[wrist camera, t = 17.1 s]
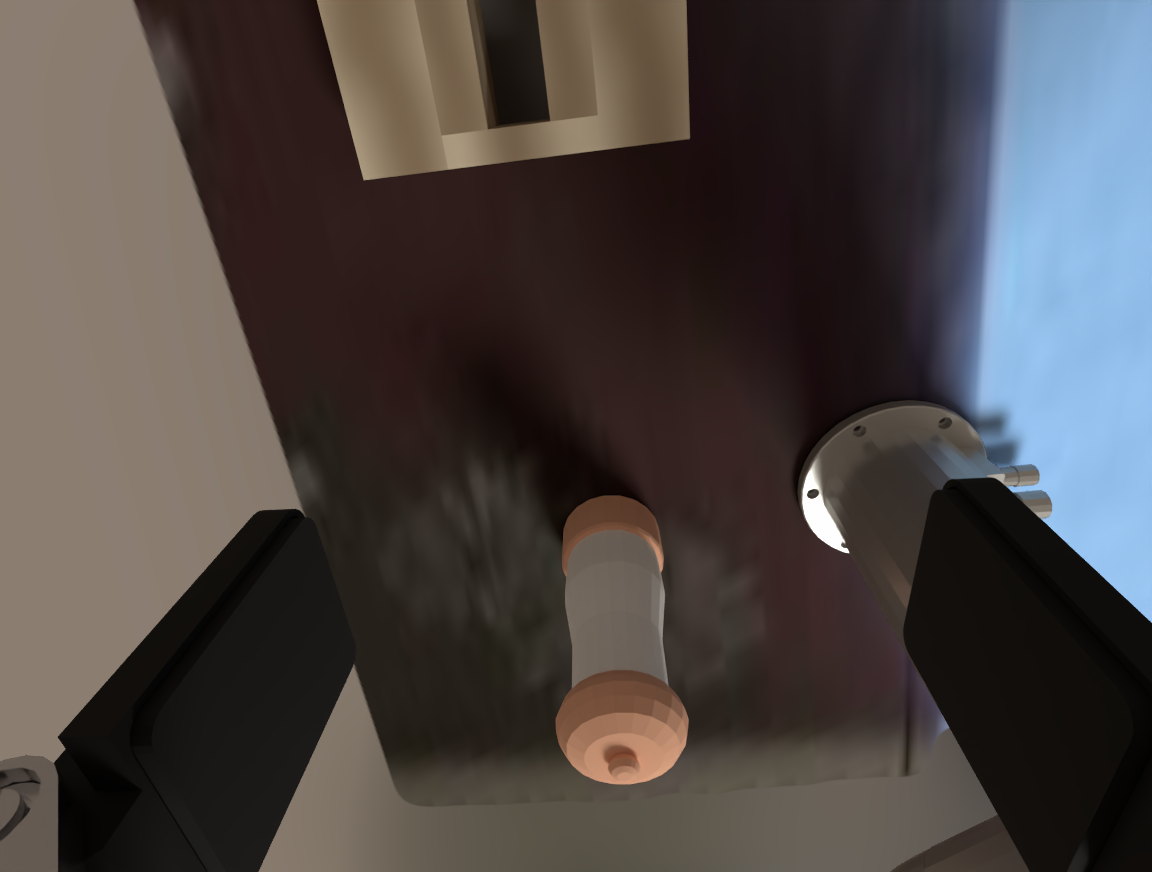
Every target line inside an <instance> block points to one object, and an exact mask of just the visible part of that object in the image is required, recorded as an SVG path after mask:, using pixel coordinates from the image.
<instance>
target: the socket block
mask: <svg viewBox="0 0 1152 872" xmlns="http://www.w3.org/2000/svg"><path fill="white" fill-rule="evenodd" d="M317 3H318V7H319V11H320V15H321V19H322V22H323V26H324V30H325V34H326V38H327V41H328V45H329V49H330V53H331V57H332V61H333V64H334V68H335V72H336V76H337V80H338V83H339V87H340V91H341V95H342V99H343V102H344V106H345V110H346V114H347V118H348V122H349V125H350V129H351V133H352V137H353V141H354V144H355V148H356V152H357V156H358V160H359V163H360V167H361V171H362V175H363V179H364V180H369V179H377V178H385V177H393V176H401V175H409V174H417V173H424V172H432V171H440V170H448V169H456V168H464V167H472V166H480V165H488V164H495V163H503V162H511V161H519V160H527V159H535V158H543V157H551V156H558V155H566V154H574V153H582V152H590V151H598V150H606V149H614V148H622V147H629V146H637V145H645V144H653V143H661V142H669V141H677V140H685V139H690V123H689V84H688V45H687V6H686V0H317Z"/></svg>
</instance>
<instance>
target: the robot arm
mask: <svg viewBox="0 0 1152 872" xmlns="http://www.w3.org/2000/svg"><path fill="white" fill-rule="evenodd" d="M1039 476H1040V475H1039V471H1038V469H1037V468H1036V466H1034V465H1032V464H1029V465H1018V466H1011V467H1006V468H999V467H998V466H997V465H994V464H992V463H991V462H990V461H989V460H988V459H987V455H986V450H985V446H984V444H983V442H982V440H981V438H980V436H979V434H978V433H977V432H976V430H975V429H974V428H973V427H972V426H971V425H970V424H969V423H968V422H967V421H966V420H965V419H963V418H962V417H961V416H960V415H958V414H957V413H956V412H954V411H952V410H950V409H948V408H946V407H944V406H942V405H938V404H934V403H930V402H927V401H914V400H904V401H894V402H888V403H884V404H880V405H876V406H872V407H869V408H867V409H865V410H862V411H860V412H858V413H855V414H853V415H852V416H850V417H848V418H847V419H845V420H843V421H842V422H840V423H839V424H837V425H836V426H835V427H834V428H832V429H831V430H830V431H829V432H828V433H826V434H825V435H824V436H823V437H822V438H821V440H820V441H819V442H818V443H817V444H816V445H815V447H814V448H813V449H812V451H811V452H810V454H809V456H808V457H807V459H806V461H805V462H804V465H803V468H802V471H801V473H800V476H799V482H798V490H797V493H798V501H799V506H800V509H801V512H802V514H803V517H804V519H805V520H806V522H807V524H808V526H809V527H810V529H811V530H812V531H813V532H814V534H815V535H816V536H817V537H818V538H819V539H820V540H822V541H823V542H825V543H826V544H827V545H829V546H830V547H833V548H835V549H837V550H839V551H842V552H845V553H850V555H851V557H852V559H853V560H854V562H855V564H856V566H857V567H858V569H859V571H860V573H861V574H862V576H863V578H864V580H865V581H866V583H867V585H868V587H869V588H870V590H871V592H872V594H873V595H874V597H875V599H876V601H877V602H878V604H879V606H880V608H881V609H882V611H883V613H884V615H885V616H886V618H887V620H888V622H889V623H890V625H891V627H892V629H893V630H894V632H895V634H896V636H897V637H898V639H899V641H900V643H901V644H902V646H903V648H904V650H905V651H906V653H907V655H908V657H909V658H910V660H911V662H912V664H913V665H914V667H915V669H916V671H917V672H918V674H919V676H920V678H921V679H922V681H923V683H924V684H925V686H926V688H927V689H928V691H929V693H930V695H931V696H932V698H933V700H934V702H935V703H936V705H937V706H938V708H939V709H940V711H941V713H942V715H943V717H944V718H945V720H946V722H947V724H948V726H949V727H950V729H951V731H952V733H953V735H954V736H955V738H956V740H957V742H958V744H959V745H960V747H961V749H962V751H963V753H964V754H965V756H966V758H967V760H968V762H969V763H970V765H971V767H972V769H973V771H974V772H975V774H976V776H977V778H978V780H979V781H980V783H981V785H982V787H983V788H984V790H985V792H986V794H987V796H988V798H989V799H990V801H991V803H992V805H993V807H994V808H995V810H996V812H997V814H998V815H997V816H994V817H993V818H990V819H988V820H986V821H984V822H982V823H980V824H978V825H976V826H974V827H972V828H970V829H968V830H966V831H964V832H962V833H959V834H957V835H955V836H953V837H951V838H949V839H947V840H945V841H943V842H941V843H939V844H937V845H935V846H933V847H931V848H930V849H928V850H926V851H924V852H922V853H920V854H918V855H916V856H914V857H912V858H910V859H909V860H907V861H905V862H904V863H902V864H900V865H899V866H897V867H896V868H895V869H893V870H892V871H891V872H1152V623H1151V622H1150V621H1149V620H1148V619H1147V618H1146V617H1145V616H1144V615H1143V614H1142V613H1141V612H1139V611H1138V610H1137V609H1136V608H1135V607H1134V606H1133V605H1132V604H1131V603H1130V602H1129V601H1128V600H1127V599H1126V598H1125V597H1123V596H1122V595H1121V594H1120V593H1119V592H1118V591H1117V590H1116V589H1115V588H1114V587H1113V586H1112V585H1111V584H1110V583H1109V582H1107V581H1106V580H1105V579H1104V578H1103V577H1102V576H1101V575H1100V574H1099V573H1098V572H1097V571H1096V570H1095V569H1094V568H1093V567H1091V566H1090V565H1089V564H1088V563H1087V562H1086V561H1085V560H1084V559H1083V558H1082V557H1081V556H1080V555H1079V554H1078V553H1077V552H1075V551H1074V550H1073V549H1072V548H1071V547H1070V546H1069V545H1068V544H1067V543H1066V542H1065V541H1064V540H1063V539H1062V538H1061V537H1059V536H1058V535H1057V534H1056V533H1055V532H1054V531H1053V530H1052V529H1051V528H1050V527H1049V526H1048V525H1047V524H1046V523H1045V522H1043V521H1042V520H1041V519H1046V518H1048V517H1049V516H1050V515H1051V512H1052V503H1051V500H1050V497H1049V496H1048V495H1047V493H1046V492H1044V491H1042V490H1037V491H1026V492H1014V493H1013V492H1011V491H1010V490H1009V489H1008V488H1007V487H1006V486H1014V487H1017V486H1029V485H1036V484H1037V483H1038V482H1039ZM355 654H356V647H355V641H354V638H353V635H352V632H351V629H350V626H349V623H348V620H347V617H346V614H345V611H344V608H343V605H342V602H341V599H340V596H339V593H338V590H337V587H336V584H335V581H334V578H333V575H332V572H331V569H330V566H329V563H328V560H327V558H326V555H325V552H324V549H323V546H322V543H321V540H320V537H319V534H318V531H317V528H316V525H315V523H314V521H313V520H312V519H311V518H305V517H304V515H303V513H302V512H301V511H300V510H297V509H285V510H263V511H259V512H257V513H256V514H254V515H253V516H252V518H250V520H249V521H248V522H247V523H246V524H245V525H244V527H243V528H242V529H241V530H240V531H239V532H238V533H237V534H236V536H235V537H234V538H233V539H232V540H231V541H230V542H229V543H228V545H227V546H226V547H225V548H224V549H223V550H222V551H221V552H220V554H219V555H218V556H217V557H216V558H215V559H214V560H213V562H212V563H211V564H210V565H209V566H208V567H207V569H206V570H205V571H204V572H203V573H202V574H201V575H200V576H199V577H198V579H197V580H196V581H195V582H194V583H193V584H192V585H191V587H190V588H189V589H188V590H187V591H186V592H185V593H184V594H183V596H182V597H181V598H180V599H179V600H178V601H177V602H176V604H175V605H174V606H173V607H172V608H171V609H170V610H169V612H168V613H167V614H166V615H165V616H164V617H163V618H162V619H161V621H160V622H159V623H158V624H157V625H156V626H155V627H154V628H153V630H152V631H151V632H150V633H149V634H148V635H147V636H146V638H145V639H144V640H143V641H142V642H141V643H140V644H139V645H138V647H137V648H136V649H135V650H134V651H133V652H132V653H131V655H130V656H129V657H128V658H127V659H126V660H125V661H124V663H123V664H122V665H121V666H120V667H119V668H118V669H117V670H116V672H115V673H114V674H113V675H112V676H111V677H110V678H109V679H108V681H107V682H106V683H105V684H104V685H103V686H102V688H101V689H100V690H99V691H98V692H97V693H96V694H95V695H94V697H93V698H92V699H91V700H90V701H89V702H88V703H87V705H86V706H85V707H84V708H83V709H82V710H81V711H80V712H79V714H78V715H77V716H76V717H75V718H74V719H73V720H72V722H71V723H70V724H69V725H68V726H67V727H66V728H65V729H64V731H63V732H62V733H61V734H60V735H59V736H58V738H59V740H60V741H61V742H62V744H63V745H64V747H65V748H66V749H65V751H64V752H63V753H62V754H61V755H60V756H59V758H58V759H57V760H56V761H55V762H54V763H52V762H51V761H49V760H48V759H46V758H44V757H40V756H28V755H26V756H21V757H16V758H11V759H7V760H3V761H1V762H0V872H258V871H259V869H260V867H261V865H262V863H263V860H264V858H265V856H266V854H267V852H268V849H269V847H270V845H271V843H272V841H273V838H274V837H275V834H276V832H277V830H278V828H279V826H280V824H281V821H282V819H283V817H284V815H285V813H286V810H287V808H288V806H289V804H290V802H291V800H292V797H293V795H294V793H295V791H296V789H297V787H298V784H299V782H300V780H301V778H302V776H303V774H304V771H305V769H306V767H307V765H308V763H309V761H310V758H311V756H312V754H313V752H314V750H315V748H316V745H317V743H318V741H319V739H320V737H321V735H322V732H323V730H324V728H325V725H326V724H327V722H328V719H329V717H330V715H331V713H332V711H333V708H334V706H335V704H336V702H337V700H338V698H339V696H340V693H341V691H342V689H343V687H344V684H345V683H346V680H347V678H348V676H349V674H350V672H351V669H352V667H353V664H354V661H355Z"/></svg>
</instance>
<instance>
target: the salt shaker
mask: <svg viewBox="0 0 1152 872" xmlns="http://www.w3.org/2000/svg"><path fill="white" fill-rule="evenodd" d="M562 566H563V571H564V573H565V576H566V588H565V606H566V612H567V618H568V624H569V629H570V635H571V641H572V647H573V651H572V689H571V690H570V691H569V692H568V694H567V695H566V697H565V699H564V701H563V703H562V705H561V708H560V710H559V712H558V715H557V717H556V733H557V737H558V741H559V745H560V747H561V748H562V750H563V752H564V754H565V756H566V757H567V759H568V760H569V761H570V763H571V764H572V766H574V767H575V768H576V769H577V770H578V771H580V772H581V773H582V774H583V775H585V776H588V777H590V778H592V779H594V780H597V781H601V782H606V783H611V784H634V783H639V782H645V781H648V780H651V779H653V778H656V777H658V776H660V775H662V774H663V773H665V772H666V771H667V770H669V769H670V768H671V767H672V766H673V765H674V763H675V762H676V760H677V759H678V757H679V756H680V754H681V752H682V750H683V749H684V747H685V745H686V739H687V731H688V722H689V719H688V716H687V713H686V711H685V708H684V706H683V704H682V702H681V700H680V699H679V697H678V696H677V695H676V693H675V692H674V691H673V690H672V689H671V688H670V687H669V686H668V680H667V672H666V664H665V657H664V649H663V641H662V635H663V618H664V601H665V592H664V587H663V582H662V577H661V571H662V569H663V551H662V545H661V539H660V533H659V528H658V525H657V522H656V519H655V517H654V515H653V514H652V513H651V512H650V511H649V509H648V508H647V507H646V506H644V505H643V504H641V503H639V502H638V501H636V500H634V499H631V498H627V497H623V496H620V495H615V496H600V497H597V498H593V499H589V500H588V501H586V502H584V503H583V504H581V505H579V506H578V507H576V509H575V510H574V511H573V512H572V513H571V514H570V515H569V517H568V519H567V521H566V524H565V527H564V532H563V552H562Z"/></svg>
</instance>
